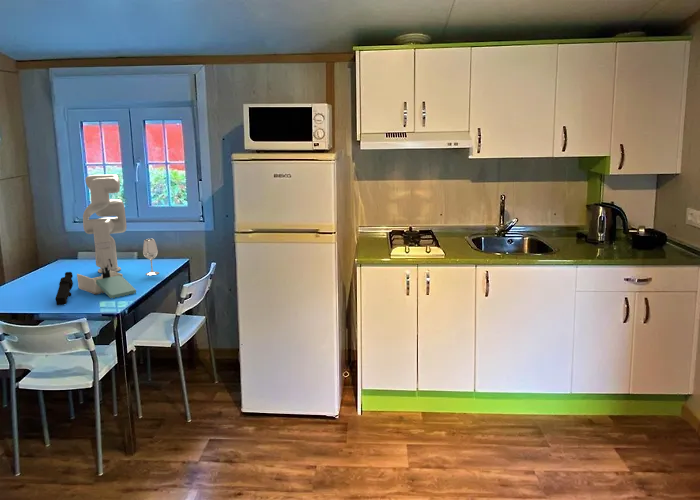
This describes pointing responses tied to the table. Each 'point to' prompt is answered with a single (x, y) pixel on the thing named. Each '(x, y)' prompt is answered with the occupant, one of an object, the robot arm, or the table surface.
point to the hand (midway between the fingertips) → (106, 280)
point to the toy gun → (64, 289)
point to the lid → (115, 286)
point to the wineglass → (150, 253)
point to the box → (92, 283)
